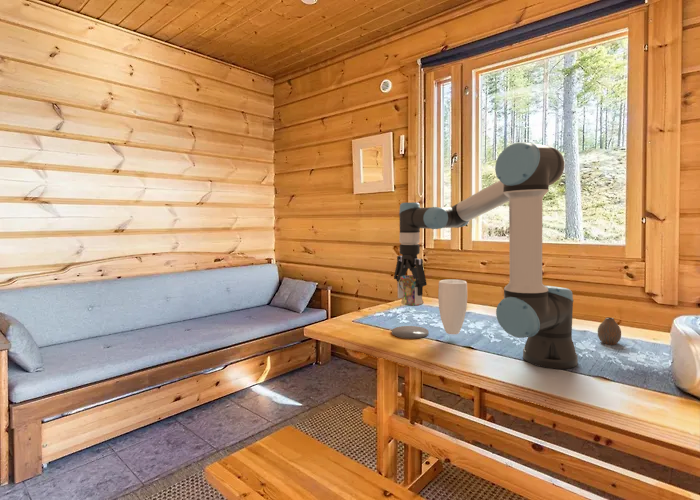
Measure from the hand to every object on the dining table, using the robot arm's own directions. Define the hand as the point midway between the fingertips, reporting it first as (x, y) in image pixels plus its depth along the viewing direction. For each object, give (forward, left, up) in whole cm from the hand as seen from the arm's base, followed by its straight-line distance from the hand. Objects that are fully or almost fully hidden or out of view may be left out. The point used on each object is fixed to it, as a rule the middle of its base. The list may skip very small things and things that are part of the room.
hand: (409, 300), depth 155 cm
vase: (-42, -54, -13) cm, 70 cm away
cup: (-15, -9, -13) cm, 21 cm away
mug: (0, 0, -1) cm, 1 cm away
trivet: (0, 0, -13) cm, 13 cm away
